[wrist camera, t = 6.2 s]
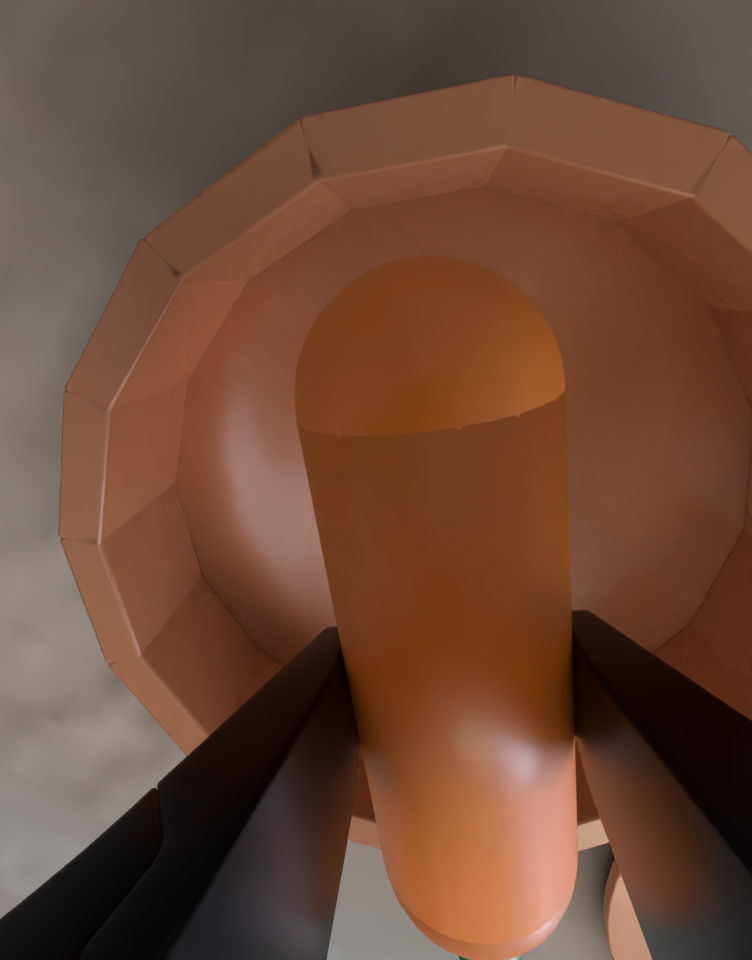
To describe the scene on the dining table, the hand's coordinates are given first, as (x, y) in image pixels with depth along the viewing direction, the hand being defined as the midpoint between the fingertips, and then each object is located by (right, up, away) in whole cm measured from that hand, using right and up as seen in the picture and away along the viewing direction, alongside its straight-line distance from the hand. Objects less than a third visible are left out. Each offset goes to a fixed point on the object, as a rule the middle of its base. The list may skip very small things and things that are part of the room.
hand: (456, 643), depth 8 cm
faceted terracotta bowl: (+1, +2, +6) cm, 6 cm away
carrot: (0, 0, +1) cm, 1 cm away
